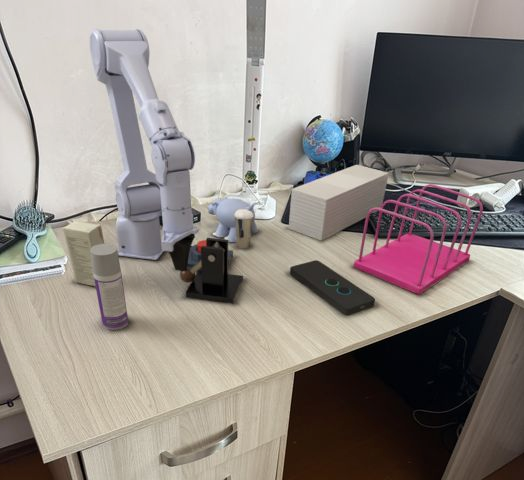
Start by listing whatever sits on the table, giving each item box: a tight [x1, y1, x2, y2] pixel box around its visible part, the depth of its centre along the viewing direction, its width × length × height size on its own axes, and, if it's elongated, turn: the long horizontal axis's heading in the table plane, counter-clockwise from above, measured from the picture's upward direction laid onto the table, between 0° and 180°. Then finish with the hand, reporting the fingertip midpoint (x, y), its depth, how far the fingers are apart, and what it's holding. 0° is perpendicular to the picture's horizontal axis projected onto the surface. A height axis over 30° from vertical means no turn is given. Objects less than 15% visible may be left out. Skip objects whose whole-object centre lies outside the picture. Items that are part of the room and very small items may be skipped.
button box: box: [187, 243, 234, 272], centre depth 111 cm, size 11×9×4 cm
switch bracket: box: [185, 237, 244, 304], centre depth 99 cm, size 10×10×10 cm
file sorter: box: [352, 183, 484, 295], centre depth 112 cm, size 17×25×16 cm
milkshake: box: [234, 209, 253, 250], centre depth 117 cm, size 4×5×10 cm
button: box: [196, 239, 206, 253], centre depth 109 cm, size 4×4×2 cm
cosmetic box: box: [62, 220, 105, 287], centre depth 99 cm, size 6×4×12 cm
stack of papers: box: [287, 164, 390, 242], centre depth 134 cm, size 32×11×11 cm, turn 140°
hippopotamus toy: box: [207, 197, 259, 243], centre depth 124 cm, size 11×15×10 cm
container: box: [90, 243, 129, 331], centre depth 86 cm, size 5×5×15 cm
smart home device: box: [289, 259, 376, 316], centre depth 104 cm, size 8×2×20 cm
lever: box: [179, 242, 225, 284], centre depth 100 cm, size 12×3×3 cm
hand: (180, 269), depth 101 cm, fingers closed, pressing on lever
